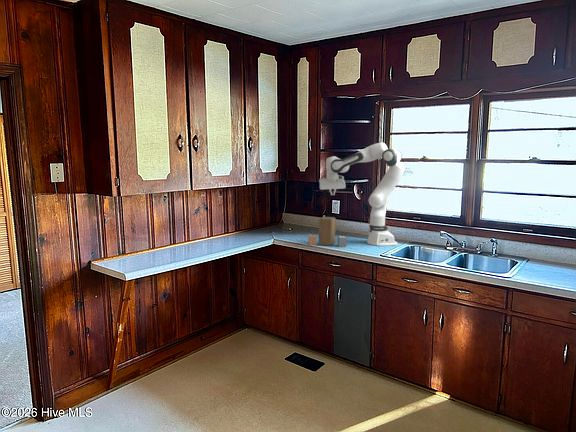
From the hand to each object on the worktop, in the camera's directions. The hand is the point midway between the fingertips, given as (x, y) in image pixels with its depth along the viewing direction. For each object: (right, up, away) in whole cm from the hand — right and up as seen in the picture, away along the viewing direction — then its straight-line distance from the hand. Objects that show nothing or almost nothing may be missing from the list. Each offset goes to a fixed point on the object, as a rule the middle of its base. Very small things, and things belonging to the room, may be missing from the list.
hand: (332, 195), depth 331 cm
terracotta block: (-17, -38, -18) cm, 45 cm away
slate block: (+4, -39, -22) cm, 45 cm away
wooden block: (-6, -38, -16) cm, 41 cm away
